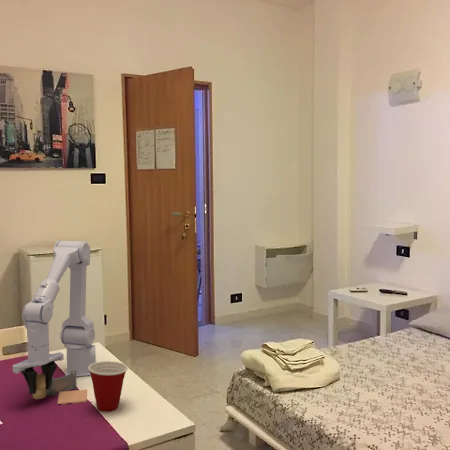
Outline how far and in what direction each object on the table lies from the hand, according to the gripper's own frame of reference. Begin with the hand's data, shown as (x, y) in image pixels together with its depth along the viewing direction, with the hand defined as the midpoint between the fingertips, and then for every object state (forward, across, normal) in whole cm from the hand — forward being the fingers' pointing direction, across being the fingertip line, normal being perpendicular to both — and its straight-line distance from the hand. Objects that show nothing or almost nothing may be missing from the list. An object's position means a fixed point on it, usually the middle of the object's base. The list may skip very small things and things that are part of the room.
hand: (39, 390), depth 149 cm
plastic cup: (+4, -11, +17) cm, 21 cm away
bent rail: (+3, -6, -3) cm, 8 cm away
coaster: (+3, -8, +4) cm, 10 cm away
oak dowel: (+2, 0, 0) cm, 2 cm away
